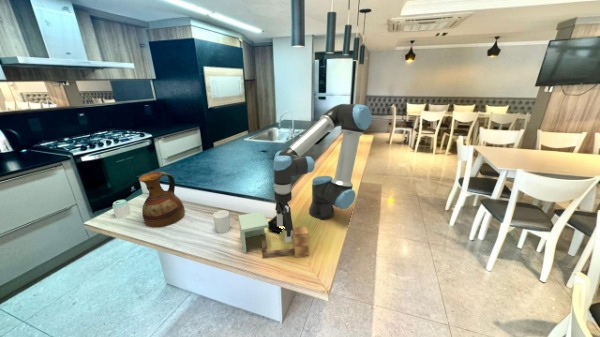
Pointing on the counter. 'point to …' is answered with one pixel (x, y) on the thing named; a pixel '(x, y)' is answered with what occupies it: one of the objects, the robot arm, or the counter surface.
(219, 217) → the white cup
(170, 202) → the ceramic pitcher
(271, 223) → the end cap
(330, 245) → the counter surface
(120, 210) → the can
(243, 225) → the cubby shelf
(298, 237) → the wooden desk organizer
